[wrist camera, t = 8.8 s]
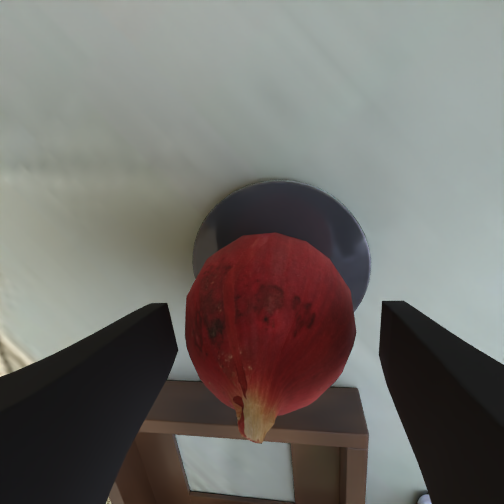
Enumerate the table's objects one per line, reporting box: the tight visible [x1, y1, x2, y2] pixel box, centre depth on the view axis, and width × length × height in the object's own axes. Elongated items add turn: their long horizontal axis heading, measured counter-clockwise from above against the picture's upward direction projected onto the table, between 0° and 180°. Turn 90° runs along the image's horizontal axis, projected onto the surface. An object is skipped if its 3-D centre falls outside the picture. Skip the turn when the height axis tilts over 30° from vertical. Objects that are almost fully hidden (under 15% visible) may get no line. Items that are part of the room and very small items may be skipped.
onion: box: [185, 233, 356, 444], centre depth 10 cm, size 6×6×8 cm
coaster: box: [193, 180, 371, 312], centre depth 14 cm, size 8×8×1 cm
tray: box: [109, 381, 369, 504], centre depth 19 cm, size 16×14×3 cm
